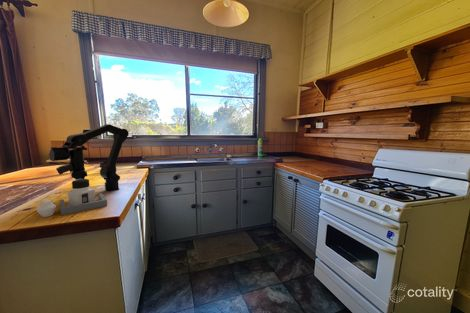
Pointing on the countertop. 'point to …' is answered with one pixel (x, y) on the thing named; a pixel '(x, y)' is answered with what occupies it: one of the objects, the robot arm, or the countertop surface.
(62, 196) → the countertop surface
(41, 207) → the white rounded lump
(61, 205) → the display bay
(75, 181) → the container
